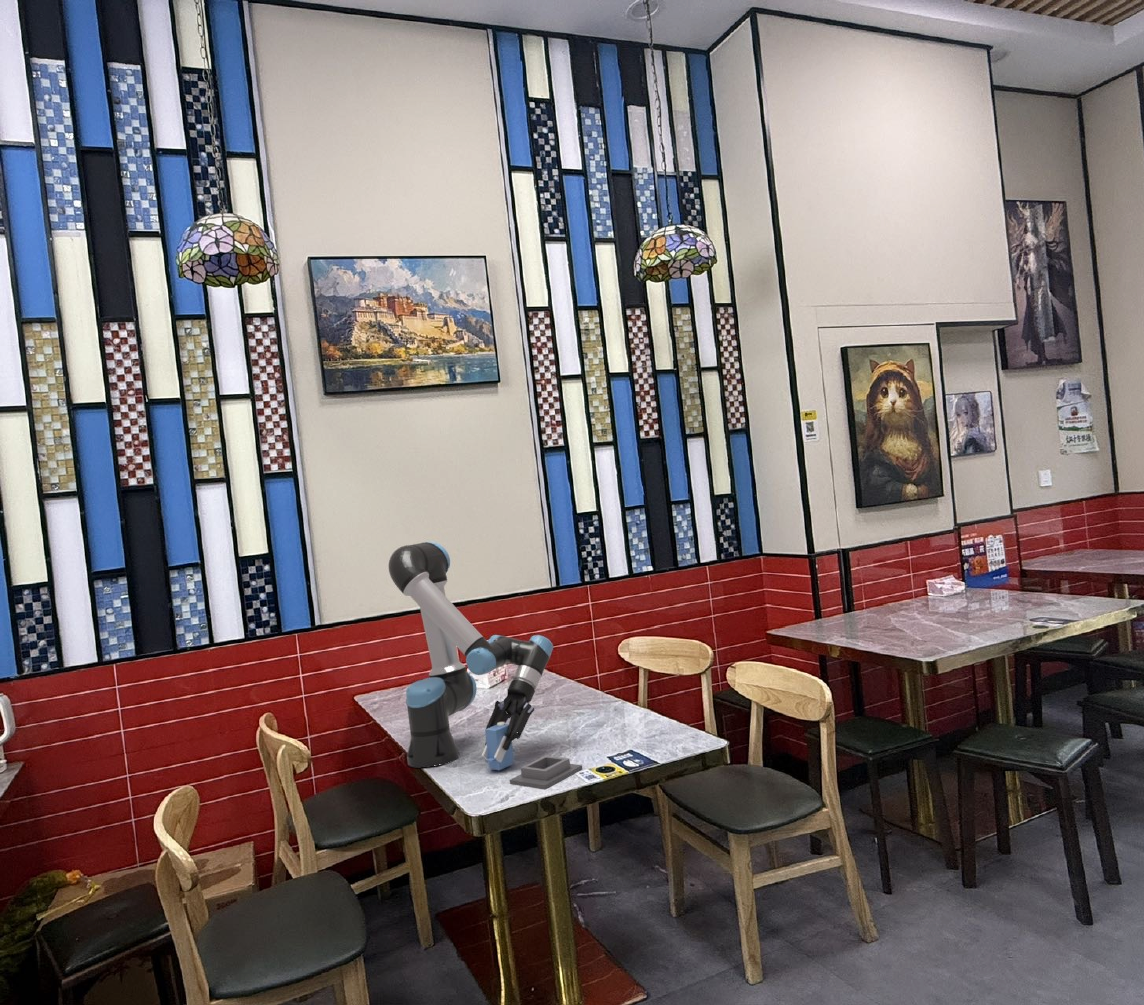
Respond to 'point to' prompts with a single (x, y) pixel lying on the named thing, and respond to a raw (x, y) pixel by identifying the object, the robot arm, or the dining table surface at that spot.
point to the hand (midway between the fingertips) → (491, 758)
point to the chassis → (545, 772)
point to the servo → (493, 741)
